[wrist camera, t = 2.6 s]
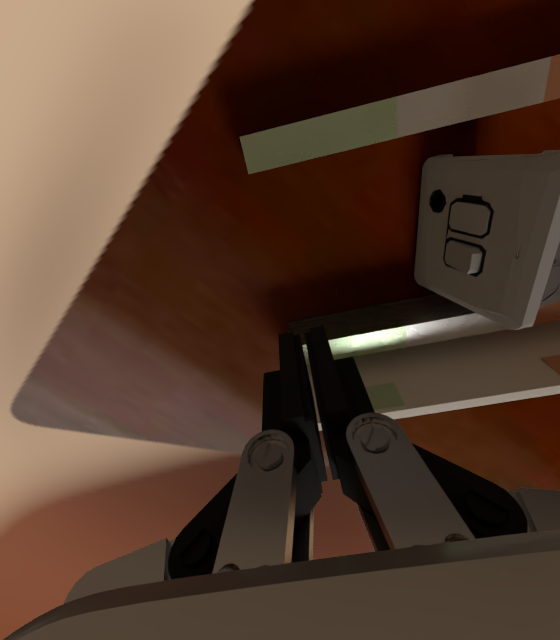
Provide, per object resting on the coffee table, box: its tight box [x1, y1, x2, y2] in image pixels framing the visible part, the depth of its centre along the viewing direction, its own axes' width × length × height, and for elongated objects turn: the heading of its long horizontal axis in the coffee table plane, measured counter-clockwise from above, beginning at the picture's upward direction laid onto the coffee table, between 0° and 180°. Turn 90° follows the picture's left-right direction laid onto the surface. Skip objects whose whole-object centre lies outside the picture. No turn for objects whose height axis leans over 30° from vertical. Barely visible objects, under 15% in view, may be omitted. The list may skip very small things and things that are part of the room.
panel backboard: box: [307, 320, 560, 431], centre depth 25 cm, size 26×1×8 cm, turn 102°
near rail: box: [240, 54, 560, 174], centre depth 18 cm, size 26×2×3 cm, turn 102°
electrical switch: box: [414, 150, 560, 330], centre depth 19 cm, size 9×5×9 cm, turn 8°
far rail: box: [288, 293, 560, 365], centre depth 25 cm, size 26×2×4 cm, turn 102°
